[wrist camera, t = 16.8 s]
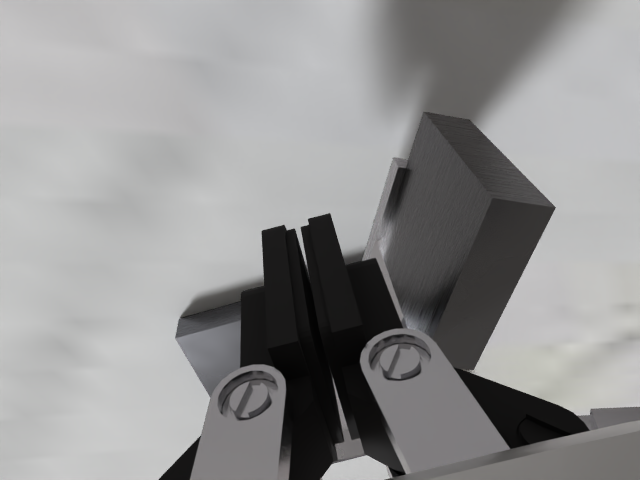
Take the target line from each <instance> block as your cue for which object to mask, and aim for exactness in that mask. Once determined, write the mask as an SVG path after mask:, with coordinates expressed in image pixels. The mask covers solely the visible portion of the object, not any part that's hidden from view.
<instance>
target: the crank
mask: <svg viewBox="0 0 640 480" xmlns="http://www.w3.org/2000/svg"><path fill="white" fill-rule="evenodd" d="M555 208H556V207H555V206H554V205H553V204H552V203H551V202H550V201H549V200H548V199H547V198H546V197H545V196H544V195H543V194H542V193H541V192H540V191H539V190H538V189H537V188H536V187H535V186H534V185H533V184H532V183H531V182H530V181H529V180H528V179H527V178H526V177H525V176H524V175H523V174H522V173H521V172H520V171H519V170H518V169H517V168H516V167H515V166H514V165H513V164H512V162H511V161H510V160H509V159H508V158H507V157H506V156H505V155H504V154H503V153H502V152H501V151H500V150H499V149H498V148H497V147H496V146H495V145H494V144H493V143H492V142H491V141H490V140H489V139H488V138H487V137H486V136H485V135H484V134H483V133H482V132H481V131H480V130H479V129H478V128H477V127H476V126H475V125H474V124H473V123H472V122H471V121H470V120H467V119H462V118H456V117H451V116H445V115H439V114H434V113H428V112H423V115H422V119H421V122H420V125H419V128H418V131H417V134H416V137H415V140H414V144H413V147H412V150H411V153H410V156H409V159H408V160H406V159H400V158H393V160H392V163H391V166H390V169H389V173H388V176H387V179H386V183H385V186H384V189H383V193H382V196H381V199H380V203H379V206H378V209H377V213H376V216H375V219H374V222H373V226H372V229H371V232H370V236H369V239H368V242H367V246H366V249H365V252H364V256H363V259H362V261H364V260H368V259H372V258H376V259H377V262H378V264H379V267H380V269H381V272H382V274H383V277H384V280H385V282H386V285H387V287H388V290H389V292H390V295H391V297H392V300H393V303H394V305H395V308H396V310H397V313H398V315H399V318H400V321H402V319H403V317H404V319H405V322H406V325H407V328H408V329H413V330H418V331H420V332H422V333H424V334H426V335H428V336H429V337H430V338H431V339H432V340H433V341H434V342H436V344H437V345H438V347H439V348H440V350H441V351H442V352H443V354H444V355H445V357H446V358H447V359H448V361H449V362H450V364H451V365H452V366H453V367H455V368H458V369H468V370H474V368H475V366H476V364H477V362H478V360H479V358H480V356H481V354H482V352H483V350H484V348H485V346H486V344H487V342H488V340H489V338H490V336H491V334H492V332H493V330H494V329H495V327H496V325H497V323H498V321H499V319H500V317H501V315H502V313H503V311H504V309H505V307H506V305H507V303H508V301H509V299H510V297H511V295H512V293H513V291H514V289H515V287H516V285H517V283H518V281H519V279H520V277H521V275H522V273H523V271H524V269H525V267H526V265H527V263H528V261H529V259H530V257H531V255H532V253H533V251H534V249H535V247H536V245H537V243H538V241H539V239H540V238H541V236H542V234H543V232H544V230H545V228H546V226H547V224H548V222H549V220H550V218H551V216H552V214H553V212H554V210H555ZM332 378H333V377H332ZM333 383H334V380H333ZM334 388H335V394H336V399H337V404H338V409H339V415H340V420H341V425H342V431H343V436H344V442H342V443H338V444H335V446H336V452H337V457H338V460H342V459H348V458H353V457H357V456H360V455H363V454H364V450H363V447H362V443H361V440H360V438H359V439H355V440H351V437H350V433H349V430H348V427H347V423H346V420H345V417H344V413H343V410H342V407H341V403H340V400H339V397H338V393H337V390H336V387H335V383H334Z"/></svg>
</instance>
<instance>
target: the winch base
mask: <svg viewBox="0 0 640 480" xmlns="http://www.w3.org/2000/svg"><path fill="white" fill-rule="evenodd" d="M401 323H402V326H403V328H407V325H406V322H405V319H404V317H403V319H402V321H401ZM175 339H176V340H177V342H178V344H179V346H180V347H181V349H182V351H183V352H184V354H185V356H186V357H187V359H188V361H189V362H190V364H191V366H192V367H193V369H194V371H195V372H196V374H197V376H198V377H199V379H200V381H201V382H202V384H203V386H204V387H205V389H206V391H207V392H208V394H209V396H210V398H211V396H212V394H213V391H214V389H215V388H216V387H217V385H218V384H219V383H220V382H221V380H223V379H224V378H225V377H226V376H228V375H229V374H230V373H232V372H234V371H236V370H238V369H240V342H241V302H238V303H234V304H231V305H227V306H224V307H220V308H216V309H213V310H209V311H206V312H202V313H198V314H195V315H191V316H188V317H184V318H180V319H179V322H178V327H177V332H176V337H175ZM365 455H366V454H363V455H360V456H357V457H361V456H365ZM357 457H353V458H357ZM353 458H348V459H342V460H338V461H334V462H333V463H337V462H341V461H345V460H349V459H353ZM333 463H332V464H333Z"/></svg>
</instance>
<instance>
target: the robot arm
mask: <svg viewBox="0 0 640 480" xmlns="http://www.w3.org/2000/svg"><path fill="white" fill-rule="evenodd" d="M308 222H309V225H307V226H303V227H301V232H302V237H303V243H304V249H305V254H306V260H307V265H308V271H309V276H310V279H309V276H308V272H307V269H306V265H305V262H304V258H303V255H302V251H301V248H300V245H299V241H298V238H297V234H296V231H295V229H291V230H286V228H285V225H282V226H278V227H274V228H270V229H266V230H263V231H262V248H263V268H264V286H261V287H257V288H254V289H250V290H246V291H243V292H242V294H241V342H240V369H238V370H236V371H234V372H232V373H230V374H229V375H228V376H226V377H225V378H224V379H223V380H221V382H220V383H219V384H218V385H217V387H216V388H215V389H214V391H213V394H212V396H211V398H210V402H209V406H208V410H207V414H206V418H205V422H204V426H203V430H202V434H201V436H200V437H199V438H198V439H197V440H196V441H195V442H194V443H193V444H192V445H191V446H190V447H189V448H188V449H187V451H186V452H185V453H184V454H183V455H182V456H181V457H180V458H179V459H178V460H177V461H176V462H175V463H174V464H173V465H172V466H171V467H170V468H169V469H168V470H167V471H166V472H165V473H164V474H163V475H162V476H161V478H160V479H159V480H322V476H323V475H324V474H325V472H326V471H327V470H328V468H329V467H330V465H331V464H332V463H333V462H334V461H338V457H337V452H336V446H335V444H338V443H342V442H344V436H343V431H342V425H341V420H340V415H339V409H338V404H337V399H336V394H335V388H334V383H335V387H336V390H337V393H338V397H339V400H340V403H341V407H342V410H343V413H344V417H345V420H346V423H347V427H348V430H349V433H350V437H351V440H355V439H359V438H360V440H361V443H362V447H363V450H364V454H366V455H368V456H370V457H372V458H373V459H375V460H377V461H379V462H381V463H383V464H385V465H386V467H387V471H388V475H389V477H390V479H386V480H640V407H623V408H599V409H591V411H590V415H583V416H576V415H575V414H574V413H573V412H571V411H569V410H567V409H565V408H563V407H561V406H559V405H556V404H553V403H551V402H548V401H545V400H542V399H540V398H537V397H534V396H532V395H529V394H526V393H523V392H521V391H518V390H515V389H512V388H510V387H507V386H504V385H502V384H499V383H496V382H493V381H491V380H488V379H485V378H483V377H480V376H477V375H474V374H472V373H469V372H466V371H463V370H461V369H458V368H455V367H453V366H452V365H451V364H450V362H449V361H448V359H447V358H446V357H445V355H444V354H443V352H442V351H441V350H440V348H439V347H438V345H437V344H436V342H434V341H433V340H432V339H431V338H430V337H429V336H428V335H426V334H424V333H422V332H420V331H418V330H413V329H408V328H403V326H402V323H401V321H400V318H399V315H398V313H397V310H396V308H395V305H394V303H393V300H392V297H391V295H390V292H389V290H388V287H387V285H386V282H385V280H384V277H383V274H382V272H381V269H380V267H379V264H378V262H377V259H376V258H372V259H368V260H364V261H360V262H356V263H352V264H348V265H345V263H344V259H343V256H342V252H341V249H340V245H339V242H338V239H337V235H336V232H335V228H334V225H333V221H332V218H331V215H330V213H329V214H325V215H322V216H318V217H314V218H310V219H308ZM332 377H333V378H332ZM333 380H334V383H333Z"/></svg>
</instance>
